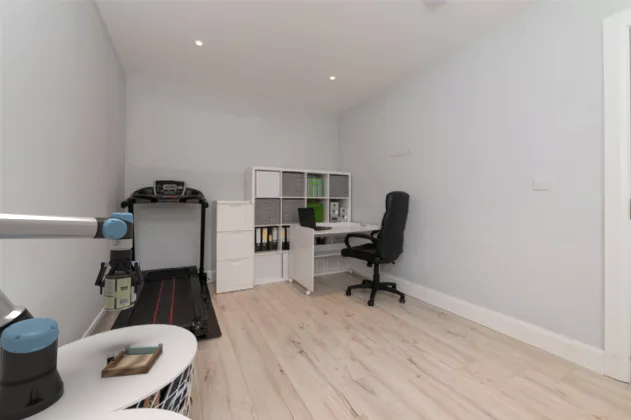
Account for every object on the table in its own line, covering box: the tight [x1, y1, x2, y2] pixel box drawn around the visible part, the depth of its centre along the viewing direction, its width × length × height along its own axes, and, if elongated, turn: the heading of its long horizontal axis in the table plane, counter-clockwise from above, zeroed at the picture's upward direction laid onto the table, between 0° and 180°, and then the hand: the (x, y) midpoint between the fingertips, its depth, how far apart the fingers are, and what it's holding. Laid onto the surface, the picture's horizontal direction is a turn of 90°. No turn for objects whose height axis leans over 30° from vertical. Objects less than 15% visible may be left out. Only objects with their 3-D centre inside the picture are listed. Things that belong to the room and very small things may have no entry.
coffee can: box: [103, 270, 136, 312], centre depth 110 cm, size 10×10×14 cm
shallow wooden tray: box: [100, 348, 162, 379], centre depth 98 cm, size 14×13×2 cm
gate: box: [123, 343, 164, 356], centre depth 106 cm, size 14×2×3 cm, turn 97°
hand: (119, 301), depth 110 cm, fingers closed on coffee can, 10 cm apart
